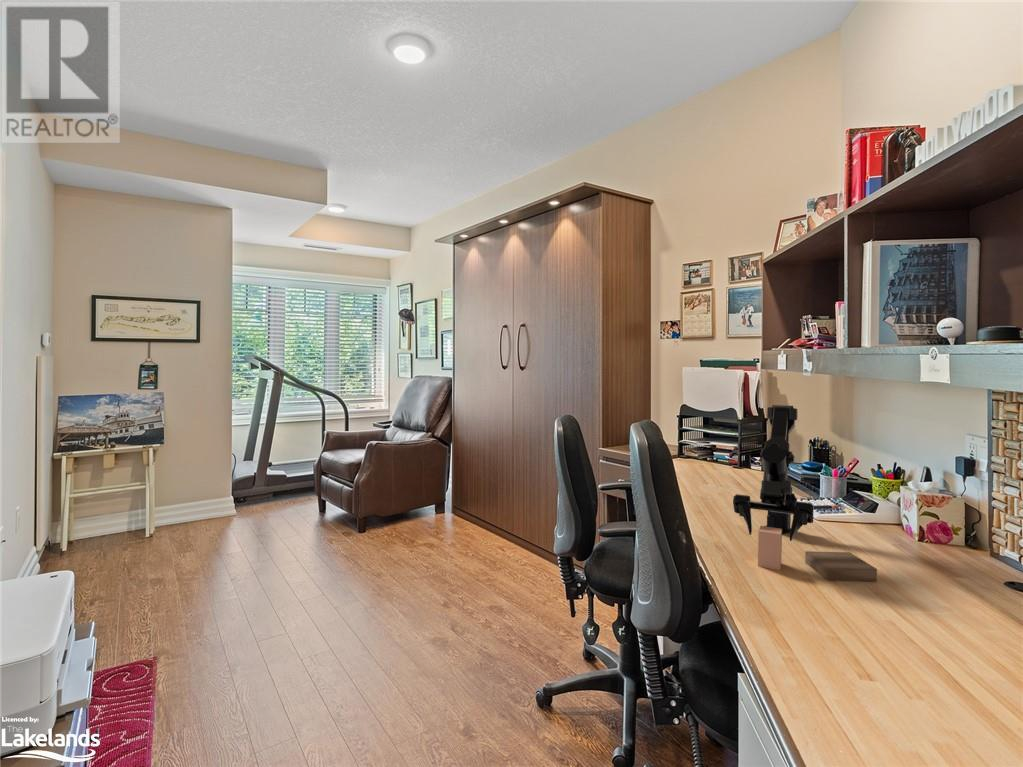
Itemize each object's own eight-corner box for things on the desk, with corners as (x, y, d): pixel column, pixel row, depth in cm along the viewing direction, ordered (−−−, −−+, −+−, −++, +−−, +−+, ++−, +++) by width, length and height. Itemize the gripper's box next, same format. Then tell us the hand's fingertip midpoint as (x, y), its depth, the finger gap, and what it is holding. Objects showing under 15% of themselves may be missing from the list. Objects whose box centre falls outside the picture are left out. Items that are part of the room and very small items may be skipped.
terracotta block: (759, 559, 138) (760, 525, 137) (781, 563, 135) (782, 528, 135) (757, 566, 133) (758, 530, 133) (780, 570, 131) (780, 534, 130)
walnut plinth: (805, 562, 135) (805, 551, 135) (849, 563, 135) (849, 552, 135) (828, 580, 124) (828, 567, 124) (876, 581, 124) (877, 569, 124)
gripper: (734, 464, 142) (727, 514, 133) (814, 471, 133) (812, 526, 123) (738, 487, 149) (731, 536, 140) (813, 496, 140) (812, 549, 130)
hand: (770, 537), depth 133 cm, fingers open, 9 cm apart
